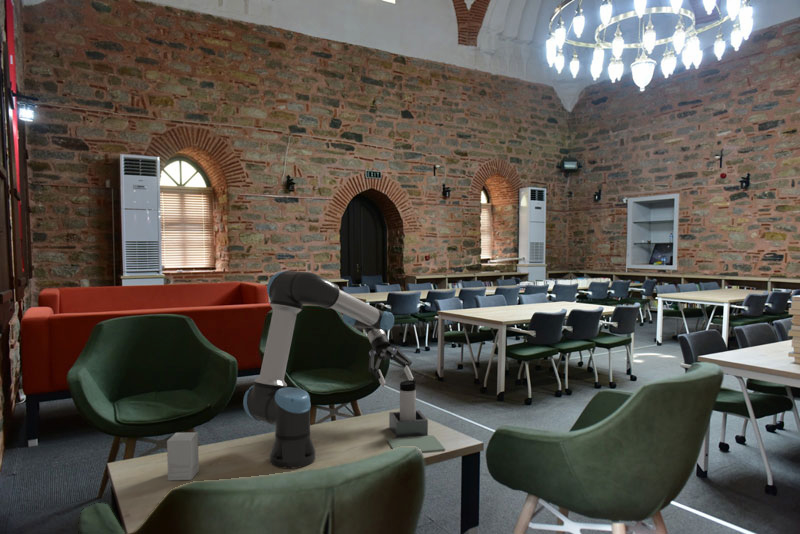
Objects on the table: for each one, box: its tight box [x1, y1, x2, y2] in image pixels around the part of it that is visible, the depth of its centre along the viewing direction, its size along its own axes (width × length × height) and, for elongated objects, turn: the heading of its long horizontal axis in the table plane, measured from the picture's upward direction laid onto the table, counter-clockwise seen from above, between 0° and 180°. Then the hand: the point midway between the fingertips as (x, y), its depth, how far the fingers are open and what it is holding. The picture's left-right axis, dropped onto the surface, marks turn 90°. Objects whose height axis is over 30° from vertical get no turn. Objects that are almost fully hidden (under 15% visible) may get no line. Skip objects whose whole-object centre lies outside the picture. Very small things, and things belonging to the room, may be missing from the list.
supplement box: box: [166, 431, 200, 481], centre depth 165 cm, size 7×7×13 cm
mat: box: [387, 434, 446, 453], centre depth 191 cm, size 18×14×1 cm
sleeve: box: [388, 410, 429, 438], centre depth 206 cm, size 12×12×6 cm
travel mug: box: [399, 379, 417, 421], centre depth 205 cm, size 6×7×20 cm
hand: (398, 382), depth 212 cm, fingers open, 13 cm apart
